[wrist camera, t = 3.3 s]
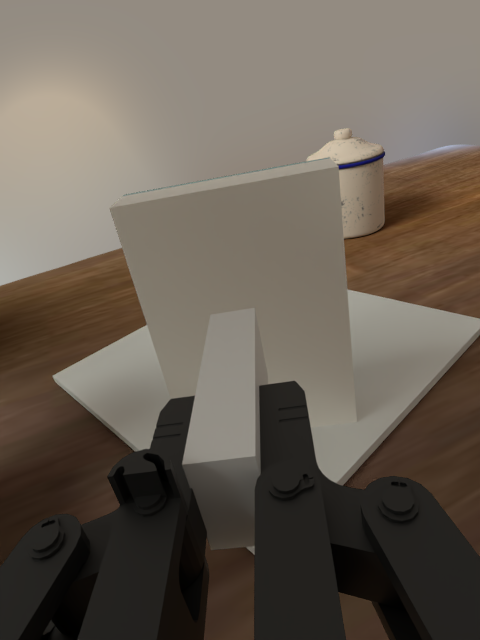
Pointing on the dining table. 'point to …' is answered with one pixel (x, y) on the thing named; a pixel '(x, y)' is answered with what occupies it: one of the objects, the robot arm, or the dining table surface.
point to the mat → (329, 441)
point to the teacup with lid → (357, 182)
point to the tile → (248, 275)
